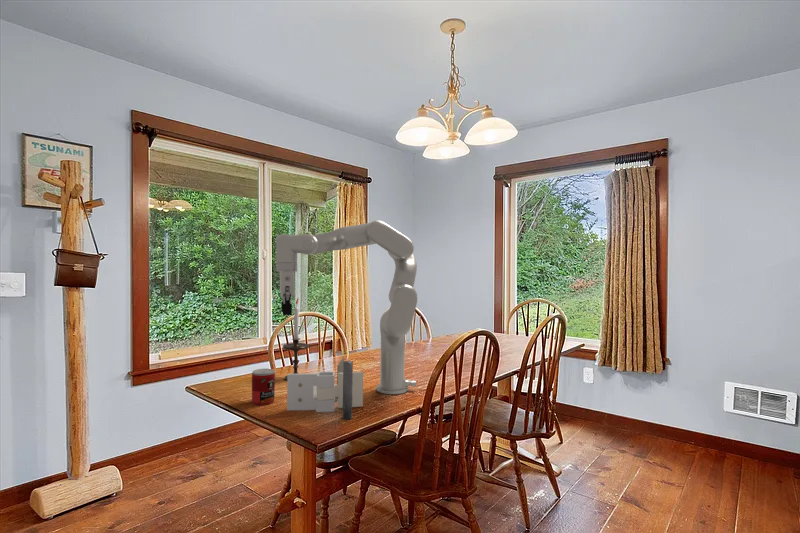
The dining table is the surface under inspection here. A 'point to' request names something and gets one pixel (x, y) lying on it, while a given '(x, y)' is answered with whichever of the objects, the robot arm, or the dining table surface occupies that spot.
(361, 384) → the leaf
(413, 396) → the dining table surface
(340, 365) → the laptop
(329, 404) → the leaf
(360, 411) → the dining table surface
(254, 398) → the canned food
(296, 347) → the candlestick
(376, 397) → the dining table surface
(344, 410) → the pin
